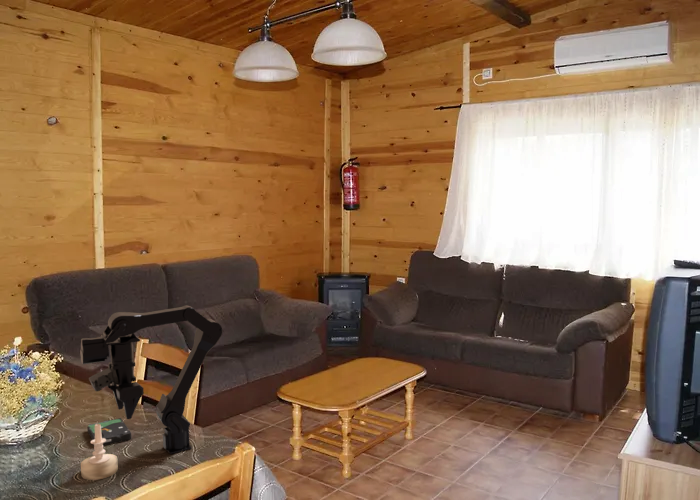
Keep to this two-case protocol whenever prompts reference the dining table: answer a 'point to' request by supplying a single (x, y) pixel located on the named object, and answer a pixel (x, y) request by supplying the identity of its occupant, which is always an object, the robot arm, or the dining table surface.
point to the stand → (99, 468)
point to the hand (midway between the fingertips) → (124, 413)
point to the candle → (98, 448)
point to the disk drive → (111, 431)
